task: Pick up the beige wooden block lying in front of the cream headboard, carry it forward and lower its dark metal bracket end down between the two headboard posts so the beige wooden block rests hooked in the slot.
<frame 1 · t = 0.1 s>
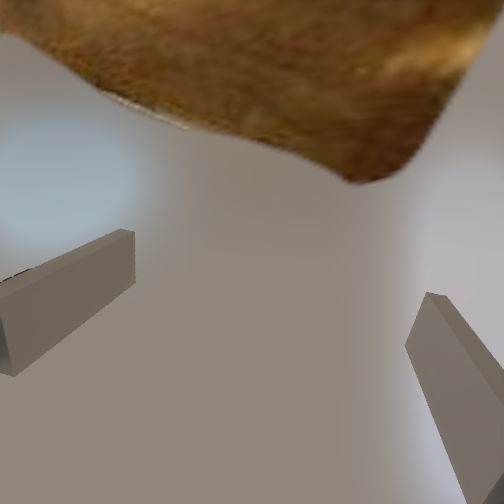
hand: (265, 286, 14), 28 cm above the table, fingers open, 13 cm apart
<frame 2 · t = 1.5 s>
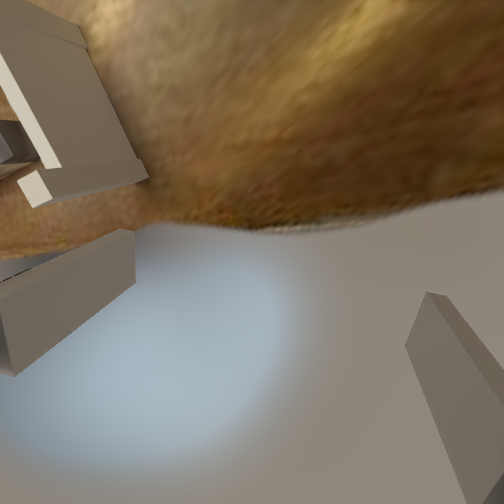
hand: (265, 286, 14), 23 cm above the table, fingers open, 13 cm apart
headboard: (107, 110, 37), on the table
beige wooden block: (6, 158, 42), on the table
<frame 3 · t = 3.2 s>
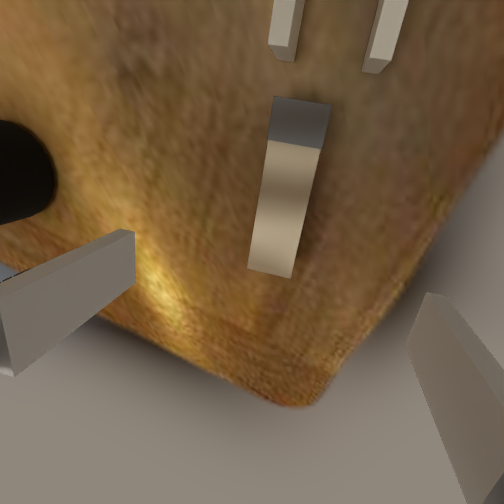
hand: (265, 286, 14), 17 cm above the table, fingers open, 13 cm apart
coffee jar: (20, 169, 35), on the table
beige wooden block: (289, 187, 29), on the table
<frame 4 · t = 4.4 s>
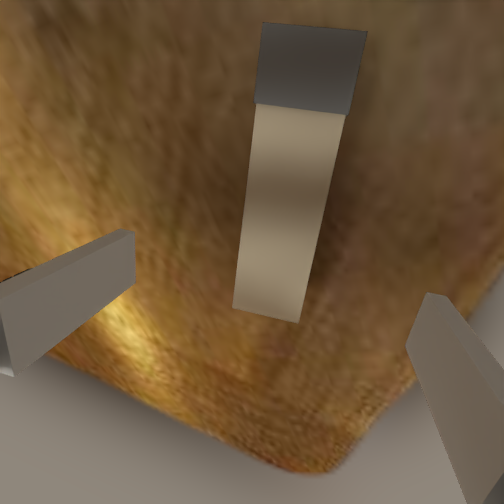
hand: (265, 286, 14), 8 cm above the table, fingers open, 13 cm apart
beige wooden block: (293, 183, 20), on the table
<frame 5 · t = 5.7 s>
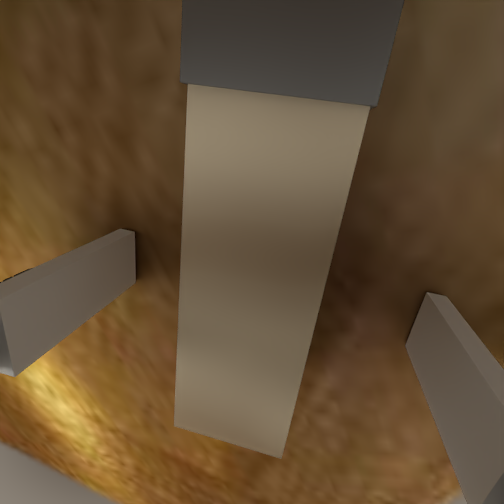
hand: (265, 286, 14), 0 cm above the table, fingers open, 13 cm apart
beige wooden block: (276, 218, 13), on the table
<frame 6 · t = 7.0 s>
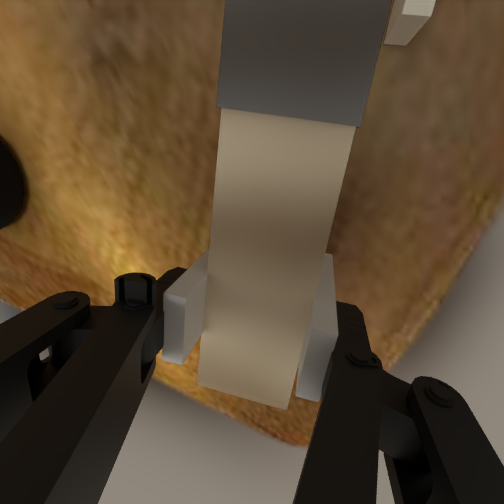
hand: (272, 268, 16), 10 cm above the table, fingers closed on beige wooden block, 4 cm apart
beige wooden block: (283, 213, 15), point 10 cm above the table, touching gripper
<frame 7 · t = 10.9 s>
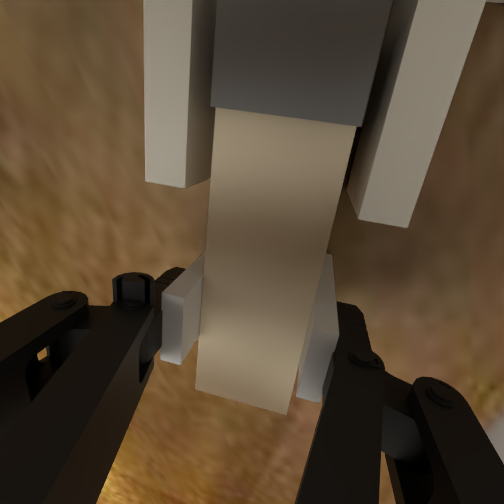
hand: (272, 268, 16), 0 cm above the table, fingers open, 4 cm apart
beige wooden block: (281, 213, 15), on the table
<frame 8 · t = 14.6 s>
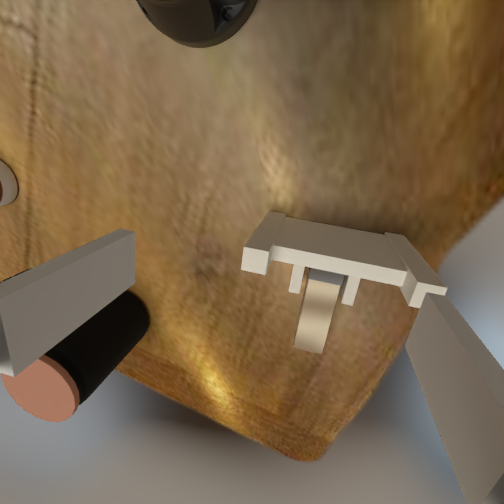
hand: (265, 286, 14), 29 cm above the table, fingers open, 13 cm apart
headboard: (332, 231, 41), on the table
coffee jar: (124, 312, 54), on the table
beige wooden block: (318, 291, 45), on the table
milk bottle: (0, 180, 50), on the table
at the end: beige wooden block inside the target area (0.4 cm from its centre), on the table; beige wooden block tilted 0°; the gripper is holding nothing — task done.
